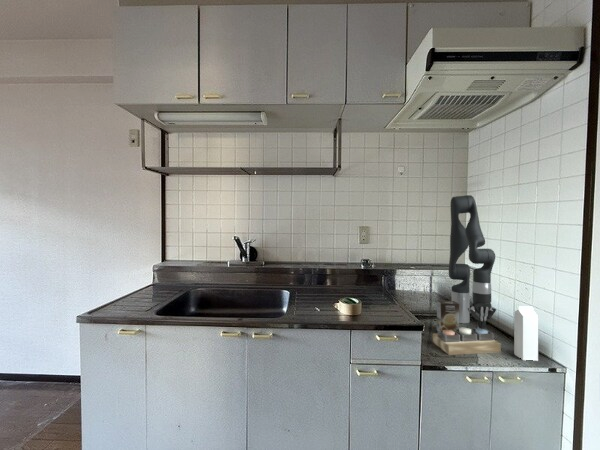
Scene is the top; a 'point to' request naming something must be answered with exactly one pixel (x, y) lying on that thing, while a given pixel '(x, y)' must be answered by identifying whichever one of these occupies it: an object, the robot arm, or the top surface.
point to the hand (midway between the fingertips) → (481, 328)
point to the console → (467, 343)
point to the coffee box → (447, 315)
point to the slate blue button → (481, 331)
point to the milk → (526, 333)
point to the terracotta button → (448, 332)
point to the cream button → (464, 330)
